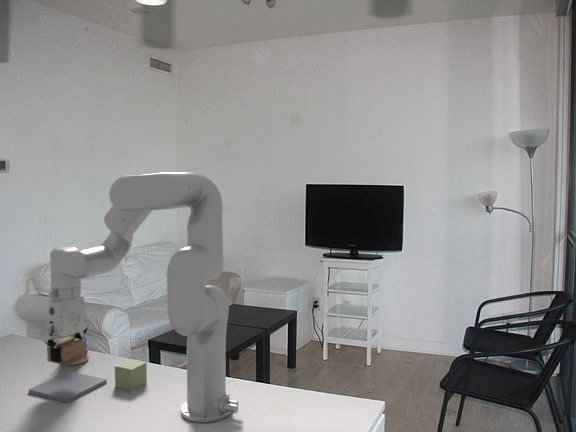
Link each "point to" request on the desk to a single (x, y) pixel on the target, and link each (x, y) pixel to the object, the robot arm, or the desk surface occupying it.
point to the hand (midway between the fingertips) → (67, 356)
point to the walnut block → (70, 350)
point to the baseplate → (67, 386)
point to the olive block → (130, 374)
